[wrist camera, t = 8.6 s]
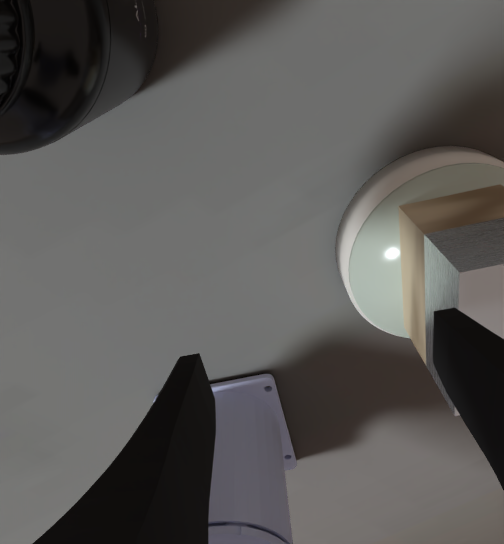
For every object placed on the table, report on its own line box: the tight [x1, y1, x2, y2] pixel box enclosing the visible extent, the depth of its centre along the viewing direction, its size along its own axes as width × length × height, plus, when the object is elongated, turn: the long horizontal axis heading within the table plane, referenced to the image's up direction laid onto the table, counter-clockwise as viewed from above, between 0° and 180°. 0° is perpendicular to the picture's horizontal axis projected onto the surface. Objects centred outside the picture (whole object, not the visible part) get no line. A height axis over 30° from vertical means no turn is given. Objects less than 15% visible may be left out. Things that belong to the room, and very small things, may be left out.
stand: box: [335, 146, 504, 338], centre depth 22 cm, size 10×10×2 cm
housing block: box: [398, 184, 504, 416], centre depth 18 cm, size 4×7×6 cm, turn 13°
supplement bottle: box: [0, 0, 158, 155], centre depth 12 cm, size 7×7×12 cm
